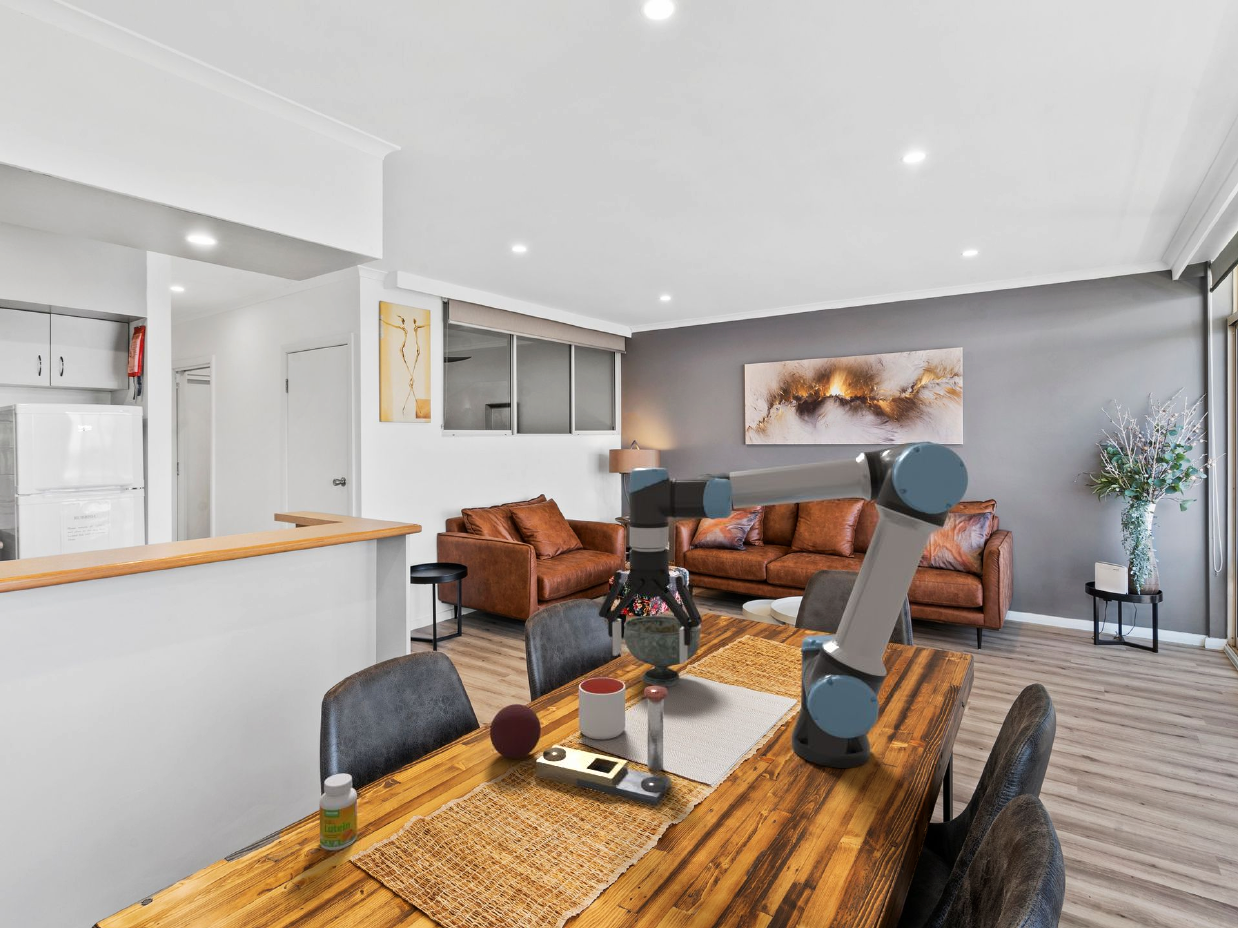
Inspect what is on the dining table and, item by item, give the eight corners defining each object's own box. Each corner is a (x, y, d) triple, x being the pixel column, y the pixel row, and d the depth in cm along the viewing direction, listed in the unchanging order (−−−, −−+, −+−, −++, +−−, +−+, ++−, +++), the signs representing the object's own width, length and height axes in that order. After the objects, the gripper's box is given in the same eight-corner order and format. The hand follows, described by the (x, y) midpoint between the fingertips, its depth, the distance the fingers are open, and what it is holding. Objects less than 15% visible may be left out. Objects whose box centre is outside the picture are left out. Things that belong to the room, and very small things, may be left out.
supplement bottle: (319, 854, 99) (318, 791, 99) (320, 835, 104) (319, 774, 104) (357, 846, 101) (357, 784, 101) (356, 827, 106) (356, 768, 106)
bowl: (711, 674, 176) (711, 619, 176) (678, 698, 160) (678, 637, 160) (647, 661, 187) (648, 609, 186) (610, 682, 171) (610, 625, 170)
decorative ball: (521, 739, 138) (521, 692, 137) (551, 755, 131) (551, 706, 130) (480, 755, 131) (479, 705, 130) (509, 773, 124) (509, 721, 123)
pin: (669, 764, 127) (670, 687, 127) (662, 774, 123) (662, 695, 123) (648, 759, 129) (649, 684, 129) (640, 769, 125) (640, 692, 125)
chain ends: (671, 786, 119) (671, 768, 119) (658, 805, 113) (658, 786, 113) (553, 759, 129) (553, 742, 129) (535, 776, 123) (535, 758, 122)
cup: (620, 743, 136) (620, 696, 136) (573, 739, 138) (573, 692, 138) (629, 723, 146) (629, 679, 145) (585, 719, 148) (585, 675, 147)
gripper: (717, 548, 125) (717, 658, 126) (597, 542, 134) (598, 644, 135) (707, 554, 118) (707, 671, 119) (581, 547, 128) (582, 655, 128)
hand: (649, 657), depth 127 cm, fingers open, 13 cm apart
